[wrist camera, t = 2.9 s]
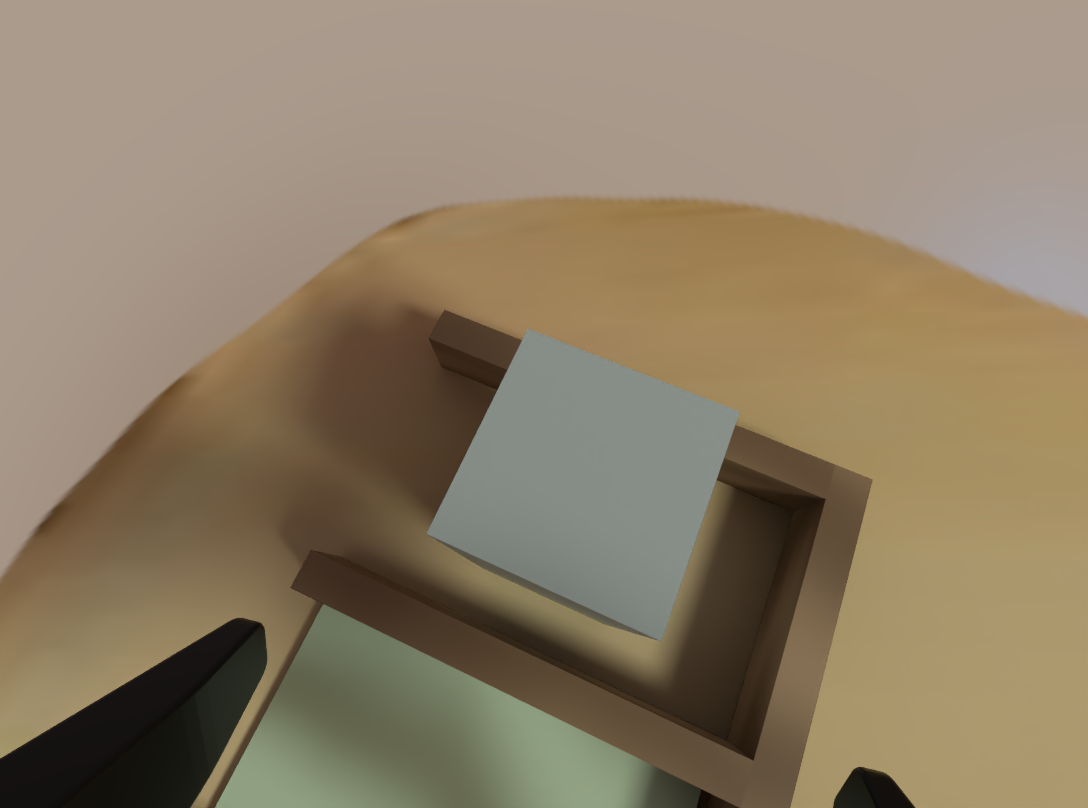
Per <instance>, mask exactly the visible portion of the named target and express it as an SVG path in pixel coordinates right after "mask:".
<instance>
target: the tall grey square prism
mask: <svg viewBox="0 0 1088 808" xmlns="http://www.w3.org/2000/svg"><path fill="white" fill-rule="evenodd" d="M739 413H740V412H739V411H736V410H734V409H731V408H729V407H726V406H724V405H721V404H719V403H716V402H714V401H711V400H708V399H706V398H703V397H701V396H698V395H696V394H693V393H691V392H688V391H686V390H683V389H680V388H678V387H675V386H673V385H670V384H668V383H665V382H663V381H660V380H658V379H655V378H652V377H650V376H647V375H645V374H642V373H640V372H637V371H635V370H632V369H630V368H627V367H624V366H622V365H619V364H617V363H614V362H612V361H609V360H607V359H604V358H602V357H599V356H596V355H594V354H591V353H589V352H586V351H584V350H581V349H579V348H576V347H574V346H571V345H568V344H566V343H563V342H561V341H558V340H556V339H553V338H551V337H548V336H546V335H543V334H540V333H538V332H535V331H533V330H530V329H528V330H527V332H526V334H525V336H524V338H523V340H522V342H521V344H520V346H519V348H518V350H517V352H516V354H515V356H514V358H513V360H512V362H511V364H510V366H509V368H508V370H507V372H506V374H505V376H504V378H503V380H502V382H501V384H500V386H499V388H498V390H497V392H496V394H495V396H494V398H493V400H492V402H491V404H490V406H489V408H488V411H487V413H486V415H485V417H484V419H483V421H482V423H481V425H480V427H479V429H478V431H477V433H476V435H475V437H474V439H473V441H472V443H471V445H470V447H469V449H468V451H467V453H466V455H465V457H464V459H463V461H462V463H461V465H460V467H459V469H458V471H457V473H456V475H455V477H454V479H453V481H452V483H451V485H450V487H449V489H448V491H447V493H446V495H445V497H444V499H443V501H442V504H441V506H440V508H439V510H438V512H437V514H436V516H435V518H434V520H433V522H432V524H431V526H430V528H429V530H428V532H427V535H429V536H431V537H432V538H434V539H436V540H437V541H439V542H441V543H442V544H444V545H446V546H447V547H449V548H451V549H452V550H454V551H455V552H457V553H459V554H460V555H462V556H464V557H465V558H467V559H469V560H470V561H472V562H474V563H475V564H477V565H479V566H480V567H482V568H484V569H486V570H488V571H490V572H492V573H495V574H497V575H499V576H501V577H503V578H505V579H508V580H510V581H512V582H514V583H516V584H518V585H521V586H523V587H525V588H527V589H529V590H531V591H534V592H536V593H538V594H540V595H542V596H545V597H547V598H549V599H551V600H553V601H555V602H558V603H560V604H562V605H564V606H566V607H568V608H571V609H573V610H575V611H577V612H579V613H581V614H584V615H586V616H588V617H590V618H592V619H595V620H597V621H599V622H601V623H603V624H606V625H609V626H612V627H616V628H619V629H622V630H625V631H629V632H632V633H635V634H639V635H642V636H645V637H648V638H652V639H655V640H658V641H662V638H663V635H664V632H665V629H666V626H667V623H668V620H669V617H670V614H671V611H672V608H673V606H674V603H675V600H676V597H677V594H678V591H679V588H680V585H681V582H682V579H683V576H684V573H685V570H686V567H687V565H688V562H689V559H690V556H691V553H692V550H693V547H694V544H695V541H696V538H697V535H698V532H699V529H700V527H701V524H702V521H703V518H704V515H705V512H706V509H707V506H708V503H709V500H710V497H711V494H712V491H713V489H714V486H715V483H716V480H717V477H718V474H719V471H720V468H721V465H722V462H723V459H724V456H725V453H726V451H727V448H728V445H729V442H730V439H731V436H732V433H733V430H734V427H735V424H736V421H737V418H738V415H739Z"/></svg>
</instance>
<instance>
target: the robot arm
mask: <svg viewBox="0 0 1088 808" xmlns="http://www.w3.org/2000/svg"><path fill="white" fill-rule="evenodd" d="M266 665H267V649H266V639H265V629H264V626H263V625H262V623H260V622H257V621H252V620H248V619H244V618H236V619H233V620H231V621H229V622H227V623H226V624H224V625H222V626H221V627H219V628H217V629H216V630H214V631H212V632H211V633H209V634H207V635H206V636H204V637H202V638H201V639H199V640H197V641H196V642H194V643H192V644H191V645H189V646H187V647H186V648H184V649H182V650H181V651H179V652H177V653H176V654H174V655H172V656H171V657H169V658H167V659H166V660H164V661H162V662H161V663H159V664H157V665H156V666H154V667H152V668H151V669H149V670H147V671H146V672H144V673H142V674H141V675H139V676H137V677H136V678H134V679H132V680H131V681H129V682H127V683H126V684H124V685H122V686H121V687H119V688H117V689H116V690H114V691H112V692H111V693H109V694H107V695H106V696H104V697H102V698H101V699H99V700H97V701H96V702H94V703H92V704H91V705H89V706H87V707H86V708H84V709H82V710H81V711H79V712H77V713H76V714H74V715H72V716H71V717H69V718H67V719H66V720H64V721H62V722H61V723H59V724H57V725H56V726H54V727H52V728H51V729H49V730H47V731H46V732H44V733H42V734H41V735H39V736H37V737H36V738H34V739H32V740H31V741H29V742H27V743H26V744H24V745H22V746H21V747H19V748H17V749H16V750H14V751H12V752H11V753H9V754H7V755H5V756H4V757H2V758H0V808H190V807H191V806H192V804H193V803H194V801H195V800H196V798H197V796H198V795H199V793H200V792H201V790H202V788H203V787H204V785H205V784H206V782H207V780H208V779H209V777H210V775H211V773H212V772H213V770H214V768H215V766H216V764H217V762H218V761H219V759H220V757H221V755H222V753H223V751H224V749H225V747H226V745H227V743H228V741H229V739H230V738H231V736H232V734H233V732H234V730H235V728H236V726H237V724H238V722H239V720H240V718H241V716H242V714H243V712H244V711H245V709H246V707H247V705H248V703H249V701H250V699H251V697H252V695H253V693H254V691H255V689H256V687H257V685H258V683H259V682H260V680H261V678H262V676H263V674H264V671H265V668H266ZM833 808H915V807H914V805H913V804H912V803H911V801H910V800H909V799H908V798H907V796H906V795H905V794H904V793H903V791H902V790H901V789H900V788H899V786H898V785H897V784H896V783H895V781H894V780H893V779H892V778H891V777H890V776H889V775H887V774H886V773H883V772H880V771H876V770H872V769H868V768H864V767H857V768H855V769H854V770H853V771H852V772H851V774H850V775H849V777H848V779H847V780H846V782H845V783H844V785H843V786H842V788H841V789H840V791H839V793H838V794H837V796H836V798H835V801H834V806H833Z"/></svg>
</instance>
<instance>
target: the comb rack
mask: <svg viewBox="0 0 1088 808" xmlns="http://www.w3.org/2000/svg"><path fill="white" fill-rule="evenodd" d="M429 340H430V342H431V344H432V347H433V349H434V351H435V353H436V356H437V358H438V360H439V363H440V365H441V367H444V368H446V369H449V370H451V371H454V372H456V373H458V374H461V375H463V376H466V377H468V378H471V379H473V380H475V381H478V382H480V383H483V384H485V385H488V386H490V387H492V388H495V389H497V390H498V388H499V386H500V384H501V382H502V380H503V378H504V376H505V374H506V372H507V370H508V368H509V366H510V364H511V362H512V360H513V358H514V356H515V354H516V352H517V350H518V348H519V346H520V344H521V342H522V340H519V339H517V338H514V337H512V336H509V335H507V334H504V333H502V332H499V331H497V330H494V329H492V328H489V327H487V326H484V325H482V324H479V323H476V322H474V321H471V320H469V319H466V318H464V317H461V316H459V315H456V314H454V313H451V312H449V311H446V310H444V311H443V313H442V315H441V317H440V319H439V320H438V322H437V324H436V326H435V328H434V329H433V331H432V333H431V335H430V337H429ZM717 480H718V481H721V482H723V483H726V484H728V485H730V486H733V487H735V488H738V489H740V490H743V491H745V492H747V493H750V494H752V495H755V496H757V497H760V498H762V499H764V500H767V501H769V502H772V503H774V504H777V505H779V506H781V507H784V508H786V509H789V510H791V511H794V512H793V515H792V519H791V522H790V525H789V529H788V532H787V536H786V539H785V543H784V546H783V549H782V553H781V556H780V560H779V563H778V567H777V570H776V573H775V577H774V580H773V584H772V587H771V590H770V594H769V597H768V601H767V604H766V608H765V611H764V614H763V618H762V621H761V625H760V628H759V632H758V635H757V638H756V642H755V645H754V649H753V652H752V656H751V659H750V662H749V666H748V669H747V673H746V676H745V680H744V683H743V686H742V690H741V693H740V697H739V700H738V703H737V707H736V710H735V714H734V717H733V721H732V724H731V727H730V731H729V734H728V738H727V741H726V740H724V739H722V738H720V737H718V736H716V735H713V734H711V733H709V732H707V731H705V730H703V729H701V728H699V727H697V726H695V725H692V724H690V723H688V722H686V721H684V720H682V719H680V718H678V717H676V716H673V715H671V714H669V713H667V712H665V711H663V710H661V709H659V708H657V707H655V706H652V705H650V704H648V703H646V702H644V701H642V700H640V699H638V698H636V697H633V696H631V695H629V694H627V693H625V692H623V691H621V690H619V689H617V688H614V687H612V686H610V685H608V684H606V683H604V682H602V681H600V680H598V679H596V678H593V677H591V676H589V675H587V674H585V673H583V672H581V671H579V670H577V669H574V668H572V667H570V666H568V665H566V664H564V663H562V662H560V661H558V660H556V659H553V658H551V657H549V656H547V655H545V654H543V653H541V652H539V651H537V650H534V649H532V648H530V647H528V646H526V645H524V644H522V643H520V642H518V641H515V640H513V639H511V638H509V637H507V636H505V635H503V634H501V633H499V632H497V631H494V630H492V629H490V628H488V627H486V626H484V625H482V624H480V623H478V622H475V621H473V620H471V619H469V618H467V617H465V616H463V615H461V614H459V613H457V612H454V611H452V610H450V609H448V608H446V607H444V606H442V605H440V604H438V603H435V602H433V601H431V600H429V599H427V598H425V597H423V596H421V595H419V594H416V593H414V592H412V591H410V590H408V589H406V588H404V587H402V586H400V585H398V584H395V583H393V582H391V581H389V580H387V579H385V578H383V577H381V576H379V575H376V574H374V573H372V572H370V571H368V570H366V569H364V568H362V567H360V566H358V565H355V564H353V563H351V562H349V561H347V560H345V559H343V558H341V557H338V556H334V555H330V554H326V553H321V552H317V551H313V550H311V551H310V553H309V555H308V557H307V559H306V560H305V562H304V564H303V566H302V568H301V569H300V571H299V573H298V575H297V577H296V578H295V580H294V582H293V584H292V586H291V587H290V588H292V589H294V590H296V591H298V592H300V593H302V594H304V595H306V596H308V597H310V598H312V599H314V600H316V601H318V602H320V603H322V604H323V605H322V607H321V609H320V611H319V613H318V615H317V617H316V619H315V620H314V622H313V624H312V626H311V628H310V630H309V632H308V634H307V636H306V637H305V639H304V641H303V643H302V645H301V647H300V649H299V651H298V652H297V654H296V656H295V658H294V660H293V662H292V664H291V666H290V667H289V669H288V671H287V673H286V675H285V677H284V679H283V681H282V683H281V684H280V686H279V688H278V690H277V692H276V694H275V696H274V698H273V699H272V701H271V703H270V705H269V707H268V709H267V711H266V713H265V715H264V716H263V718H262V720H261V722H260V724H259V726H258V728H257V730H256V731H255V733H254V735H253V737H252V739H251V741H250V743H249V745H248V747H247V748H246V750H245V752H244V754H243V756H242V758H241V760H240V762H239V763H238V765H237V767H236V769H235V771H234V773H233V775H232V777H231V778H230V780H229V782H228V784H227V786H226V788H225V790H224V792H223V794H222V795H221V797H220V799H219V801H218V803H217V805H216V807H215V808H696V806H697V803H698V799H699V796H700V793H701V789H702V790H704V791H706V792H708V793H710V794H711V796H710V799H709V803H708V806H707V808H790V806H791V802H792V798H793V794H794V790H795V786H796V782H797V778H798V774H799V770H800V766H801V762H802V758H803V754H804V750H805V746H806V742H807V738H808V734H809V730H810V726H811V722H812V718H813V714H814V710H815V706H816V702H817V698H818V694H819V691H820V687H821V683H822V679H823V675H824V671H825V667H826V663H827V659H828V655H829V651H830V647H831V643H832V639H833V635H834V631H835V627H836V623H837V619H838V615H839V611H840V607H841V603H842V599H843V595H844V591H845V587H846V583H847V579H848V575H849V571H850V567H851V563H852V559H853V555H854V551H855V548H856V544H857V540H858V536H859V532H860V528H861V524H862V520H863V516H864V512H865V508H866V504H867V500H868V496H869V492H870V488H871V484H872V479H870V478H867V477H865V476H862V475H860V474H857V473H855V472H852V471H850V470H847V469H845V468H842V467H840V466H837V465H835V464H832V463H830V462H827V461H824V460H822V459H819V458H817V457H814V456H812V455H809V454H807V453H804V452H802V451H799V450H797V449H794V448H792V447H789V446H787V445H784V444H782V443H779V442H777V441H774V440H772V439H769V438H766V437H764V436H761V435H759V434H756V433H754V432H751V431H749V430H746V429H744V428H741V427H739V426H736V425H735V427H734V430H733V433H732V436H731V439H730V442H729V445H728V448H727V451H726V453H725V456H724V459H723V462H722V465H721V468H720V471H719V474H718V477H717Z"/></svg>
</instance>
